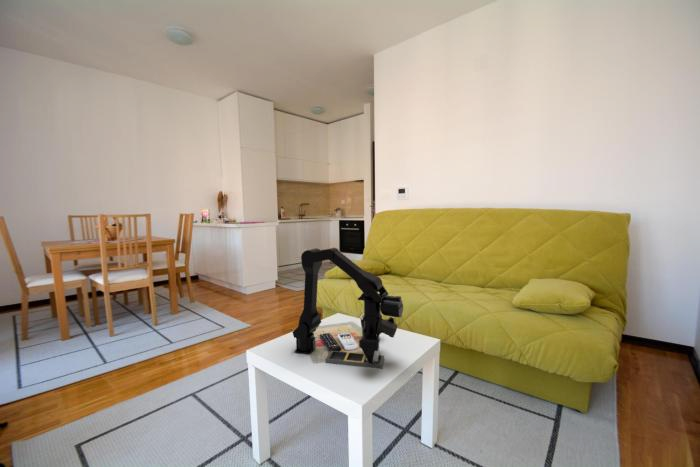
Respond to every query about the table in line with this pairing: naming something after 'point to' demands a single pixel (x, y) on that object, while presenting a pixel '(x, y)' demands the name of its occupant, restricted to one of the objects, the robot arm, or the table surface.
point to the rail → (352, 359)
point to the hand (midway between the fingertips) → (372, 356)
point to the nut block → (375, 357)
